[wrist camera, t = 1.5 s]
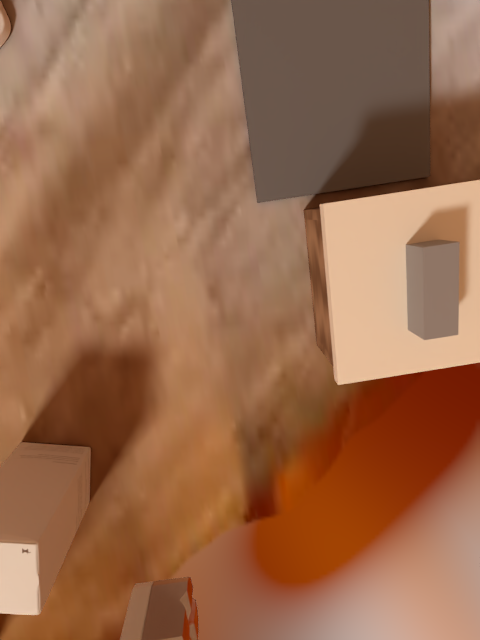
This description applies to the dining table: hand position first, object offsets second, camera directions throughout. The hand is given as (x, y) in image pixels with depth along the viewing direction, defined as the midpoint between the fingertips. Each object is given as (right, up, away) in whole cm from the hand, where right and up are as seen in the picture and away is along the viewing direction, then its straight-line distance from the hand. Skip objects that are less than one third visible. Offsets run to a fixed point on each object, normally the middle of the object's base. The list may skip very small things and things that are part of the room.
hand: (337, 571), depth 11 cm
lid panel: (+14, +11, +27) cm, 32 cm away
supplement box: (-27, -13, +39) cm, 49 cm away
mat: (+7, +30, +29) cm, 42 cm away
